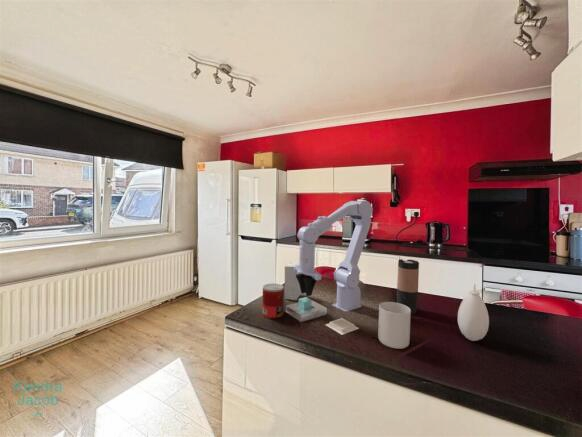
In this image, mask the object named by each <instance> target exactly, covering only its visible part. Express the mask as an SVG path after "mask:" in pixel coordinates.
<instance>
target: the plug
mask: <svg viewBox="0 0 582 437" xmlns="http://www.w3.org/2000/svg"><path fill="white" fill-rule="evenodd" d="M311 302H312V299H311V298H309V297H308V296H305V297H300V298H298V302H297V303H298V307H300V308H301V309H303V310H308V309H311Z"/></svg>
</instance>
